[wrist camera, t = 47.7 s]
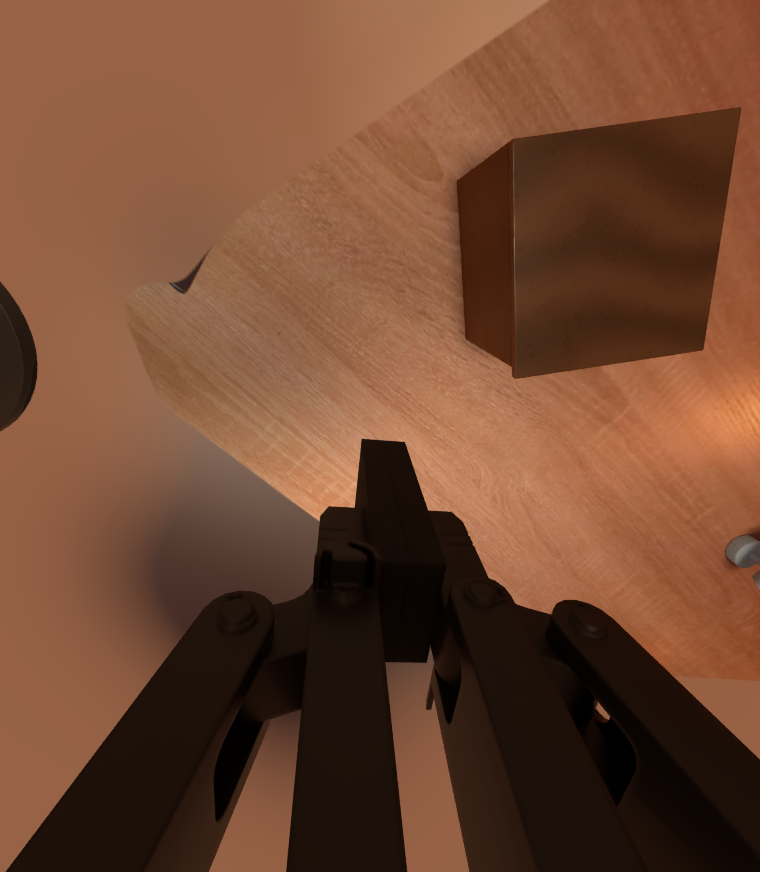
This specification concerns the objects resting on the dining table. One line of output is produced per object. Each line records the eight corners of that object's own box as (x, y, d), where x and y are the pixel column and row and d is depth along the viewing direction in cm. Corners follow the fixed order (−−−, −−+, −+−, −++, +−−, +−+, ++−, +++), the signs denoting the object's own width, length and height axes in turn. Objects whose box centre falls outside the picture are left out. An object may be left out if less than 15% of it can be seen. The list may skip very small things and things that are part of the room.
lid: (696, 348, 36) (703, 350, 35) (511, 376, 35) (515, 379, 34) (731, 110, 29) (742, 106, 29) (507, 142, 29) (512, 139, 28)
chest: (601, 318, 48) (697, 339, 35) (465, 338, 48) (511, 367, 35) (611, 158, 43) (731, 110, 29) (456, 180, 42) (507, 142, 29)
